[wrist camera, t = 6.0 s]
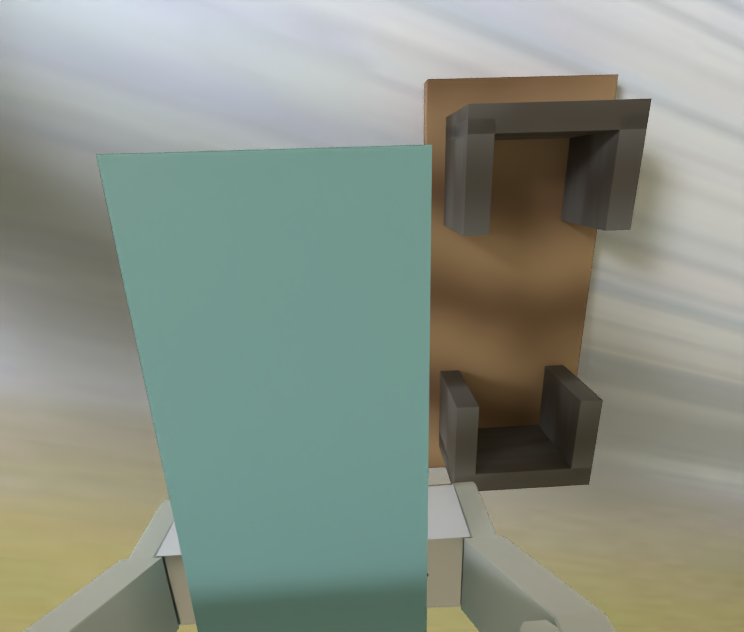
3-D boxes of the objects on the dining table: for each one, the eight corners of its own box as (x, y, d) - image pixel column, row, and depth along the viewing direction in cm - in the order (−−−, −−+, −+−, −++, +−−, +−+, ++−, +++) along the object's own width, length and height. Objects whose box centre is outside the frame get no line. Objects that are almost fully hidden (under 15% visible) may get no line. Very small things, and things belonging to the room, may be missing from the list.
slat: (214, 167, 9) (96, 154, 5) (395, 162, 9) (432, 144, 5) (282, 674, 14) (252, 889, 10) (402, 665, 14) (423, 873, 10)
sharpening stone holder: (424, 83, 23) (446, 56, 17) (607, 78, 23) (682, 50, 18) (421, 458, 30) (436, 518, 25) (558, 451, 31) (601, 507, 25)
